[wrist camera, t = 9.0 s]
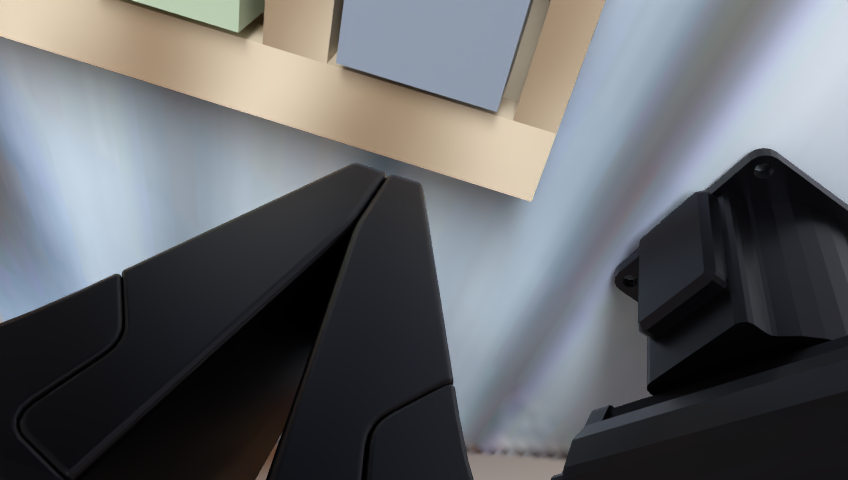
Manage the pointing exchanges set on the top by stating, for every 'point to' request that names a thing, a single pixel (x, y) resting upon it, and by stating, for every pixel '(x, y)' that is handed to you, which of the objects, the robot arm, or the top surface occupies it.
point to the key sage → (213, 11)
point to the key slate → (436, 44)
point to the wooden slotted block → (331, 78)
